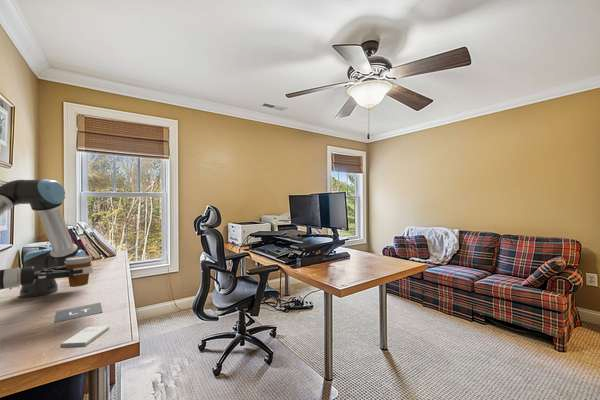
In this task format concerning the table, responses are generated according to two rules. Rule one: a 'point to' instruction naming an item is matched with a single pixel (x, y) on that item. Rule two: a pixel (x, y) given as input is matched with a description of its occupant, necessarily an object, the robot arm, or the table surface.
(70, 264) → the disposable coffee cup
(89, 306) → the tile
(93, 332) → the external hard drive
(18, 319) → the table surface
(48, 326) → the table surface
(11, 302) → the table surface
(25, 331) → the table surface
